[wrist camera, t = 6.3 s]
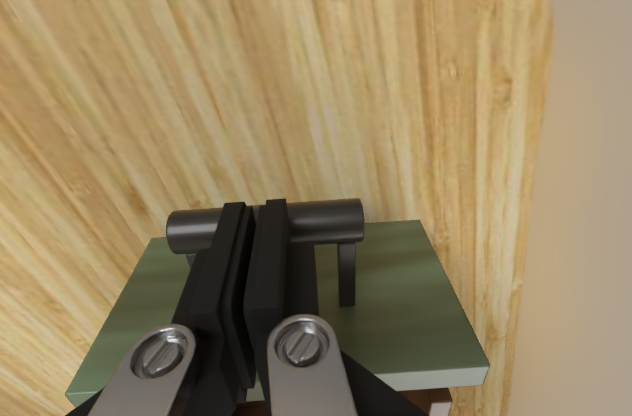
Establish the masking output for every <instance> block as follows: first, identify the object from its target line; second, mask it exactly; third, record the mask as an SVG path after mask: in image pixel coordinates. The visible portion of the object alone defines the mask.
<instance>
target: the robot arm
mask: <svg viewBox="0 0 632 416" xmlns="http://www.w3.org/2000/svg"><path fill="white" fill-rule="evenodd" d="M256 373H258V376H259V380H260V384H261V387H262V391H263V395H264V399H265V402H266V406H267V408H268V409H269V410H270V411H271V412H272V416H429V415H428V414H426V413H425V412H424V411H422V410H421V409H420V408H418V407H417V406H416V405H414V404H413V403H412V402H410V401H409V400H408V399H406V398H405V397H404V396H402V395H401V394H400V393H398V392H397V391H396V390H394V389H393V388H392V387H390V386H389V385H387V384H386V383H385V382H383V381H382V380H381V379H379V378H378V377H377V376H375V375H374V374H373V373H371V372H370V371H369V370H367V369H366V368H365V367H363V366H362V365H361V364H359V363H358V362H357V361H355V360H354V359H352V358H351V357H350V356H348V355H347V354H346V353H344V352H343V351H342V350H340V349H339V345H338V342H337V338H336V335H335V333H334V331H333V329H332V327H331V326H330V325H329V324H328V323H327V322H326V321H325V320H324V319H322V318H320V317H319V305H318V289H317V274H316V261H315V249H314V241H303V242H291V235H290V227H289V220H288V212H287V204H286V199H274V200H267V201H266V205H260V206H259V212H258V218H257V224H256V222H255V216H254V211H253V208H252V206H246V204H245V202H233V203H225V204H224V206H223V209H222V212H221V215H220V218H219V221H218V224H217V228H216V231H215V234H214V237H213V240H212V243H211V246H210V248H208V249H200V250H198V252H197V254H196V256H195V259H194V262H193V264H192V267H191V270H190V272H189V275H188V278H187V280H186V283H185V286H184V289H183V291H182V294H181V297H180V299H179V302H178V305H177V307H176V310H175V313H174V316H173V318H172V321H171V324H165V325H162V326H159V327H155V328H153V329H151V330H150V331H148V332H146V333H144V334H143V335H142V336H140V337H139V338H138V339H137V340H136V341H135V342H134V343H133V344H132V345H131V347H130V348H129V349H128V350H127V352H126V354H125V355H124V357H123V358H122V360H121V362H120V363H119V365H118V367H117V368H116V370H115V371H114V373H113V375H112V376H111V378H110V380H109V381H108V383H107V385H106V386H105V387H104V388H103V389H101V390H100V391H99V392H97V393H96V394H94V395H93V396H92V397H90V398H89V399H88V400H86V401H85V402H83V403H82V404H81V405H79V406H78V407H76V408H75V409H74V410H72V411H71V412H70V413H68V414H67V415H65V416H230V415H231V414H232V413H233V412H234V411H235V410H236V406H237V403H246V398H247V390H248V389H254V387H255V382H256Z"/></svg>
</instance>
